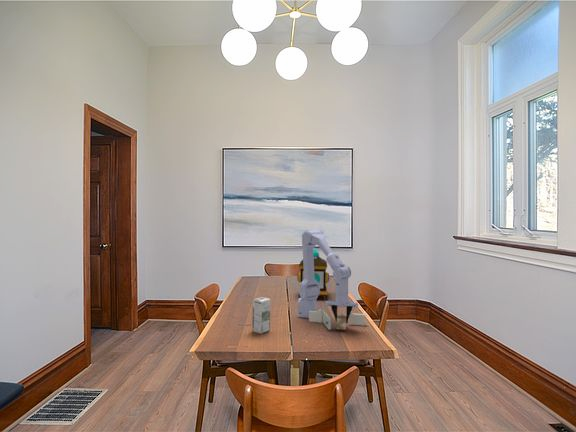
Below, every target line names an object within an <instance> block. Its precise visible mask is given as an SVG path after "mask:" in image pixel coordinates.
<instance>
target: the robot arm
mask: <svg viewBox="0 0 576 432" xmlns="http://www.w3.org/2000/svg"><path fill="white" fill-rule="evenodd" d="M301 245H302V258H303V259H302V260H303V266H304V280H303V281H302V282H299V290H298V294H299V295H300V297H301V298H299V297H298V299H297V318H306V319H309V311H318V310H317V309H318V308H317V304H318V303H317V299H318V297H320V296H319V294H320V288H319V284H318V282H317V281H316V280H315V276H314V256H313V249H315V247H316V246H317V247H319V249H320V250H321V252H323V254H324V255H325V256H326V260H325V261H326V262H327V265H329V266H330V268H331V270H332V276H333V278H334V283H335V300H325V307H330V308H331V311H332V313H333V316H334V319H335V324H337V315H338V307H339V308H340V307H343V308H346V309H345V310H346V311H345V314H346V324H349V315H350V313H351V311H352V312H353V308H356V309H358V308H359V302H356V301H349V278H350V277H351V276H352V270H351V268H350V266H349V265H346V264H345V263H343V261H342V260H341V258H340V257H339V255H338V254H337V253H335V252H333V251H332V249H331V247H330V245H329V243H328V242H327V239H326V234H325V233H324V231H323V230H322V229H315V230H312V229H311V230H304V232H303V233H302V234H301Z"/></svg>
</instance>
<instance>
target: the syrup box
mask: <svg viewBox="0 0 576 432" xmlns="http://www.w3.org/2000/svg"><path fill="white" fill-rule="evenodd" d="M251 326H252V328H251V329H252V332H254V333H257V334H260V335H262V334H264V333H267V332H270V331H271V298H268V297H263V296H261V297H257V298H254V299H252V325H251Z"/></svg>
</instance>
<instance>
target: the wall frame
mask: <svg viewBox="0 0 576 432" xmlns="http://www.w3.org/2000/svg"><path fill="white" fill-rule="evenodd" d="M308 322H310V323H319V324H321V323H322V322H323V309H320V308H319V309H318V310H317V311H309V318H308ZM348 325H349V326H366V313H365V314H364V313H353V310H352V311H351V313H350V315H349V318H348Z"/></svg>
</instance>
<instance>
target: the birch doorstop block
mask: <svg viewBox="0 0 576 432" xmlns="http://www.w3.org/2000/svg"><path fill="white" fill-rule="evenodd" d="M336 330H345V331H346V330H347V323H346V313H337V323H336Z"/></svg>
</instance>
